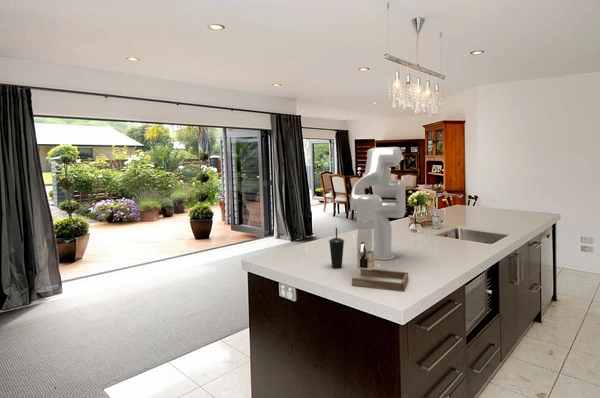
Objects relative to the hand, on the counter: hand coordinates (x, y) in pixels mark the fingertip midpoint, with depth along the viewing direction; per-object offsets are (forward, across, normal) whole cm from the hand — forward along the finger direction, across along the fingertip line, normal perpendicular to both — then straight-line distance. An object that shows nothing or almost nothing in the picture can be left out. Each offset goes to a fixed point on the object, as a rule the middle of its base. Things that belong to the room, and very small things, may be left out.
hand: (365, 265), depth 158 cm
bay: (+7, 0, +6) cm, 9 cm away
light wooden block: (+1, 0, 0) cm, 1 cm away
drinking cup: (+7, -16, -18) cm, 25 cm away
